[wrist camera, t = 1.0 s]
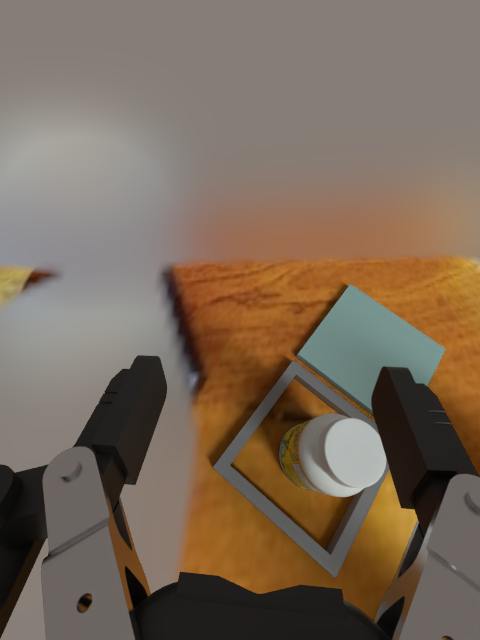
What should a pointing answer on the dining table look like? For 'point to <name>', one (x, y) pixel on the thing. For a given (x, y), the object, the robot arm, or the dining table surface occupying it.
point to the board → (367, 347)
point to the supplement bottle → (333, 455)
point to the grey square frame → (326, 558)
